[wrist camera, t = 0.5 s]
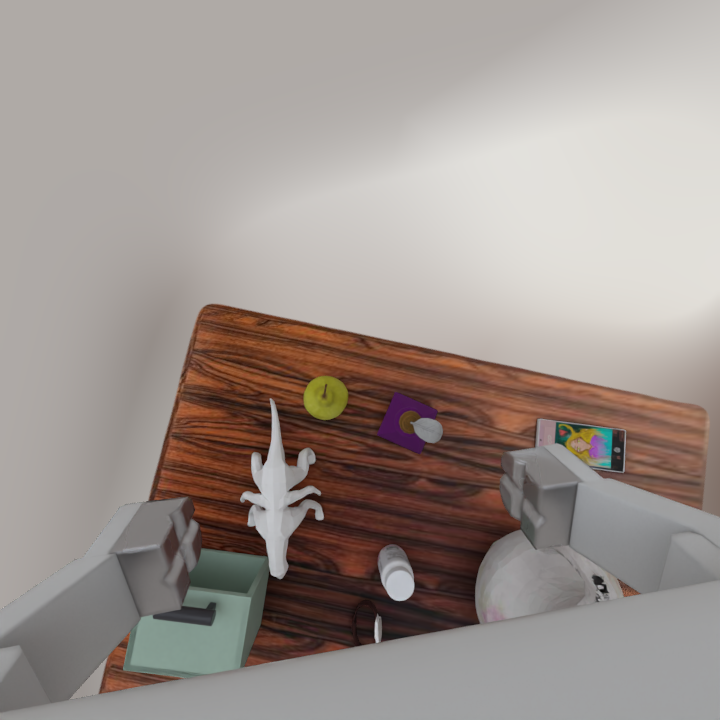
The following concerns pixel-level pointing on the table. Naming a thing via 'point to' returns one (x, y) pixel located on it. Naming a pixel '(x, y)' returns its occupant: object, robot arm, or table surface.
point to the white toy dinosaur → (279, 497)
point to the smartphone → (586, 443)
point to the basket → (205, 620)
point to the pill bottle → (396, 572)
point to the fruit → (325, 397)
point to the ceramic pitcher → (537, 580)
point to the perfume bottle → (410, 423)
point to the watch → (377, 623)
